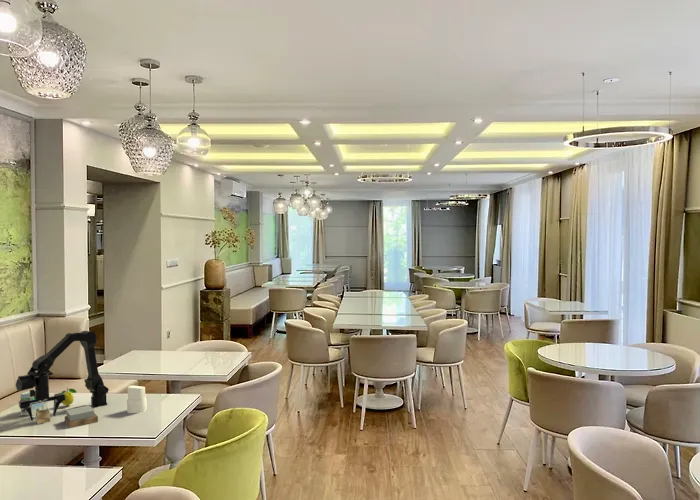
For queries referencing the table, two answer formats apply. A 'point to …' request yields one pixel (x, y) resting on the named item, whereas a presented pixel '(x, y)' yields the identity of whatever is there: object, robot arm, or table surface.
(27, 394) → the light bulb box
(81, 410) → the slate slab
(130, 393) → the cylinder with rectangular tab
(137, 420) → the table surface
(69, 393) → the lemon
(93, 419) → the walnut slab
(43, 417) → the oak cube
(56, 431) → the table surface
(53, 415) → the robot arm
